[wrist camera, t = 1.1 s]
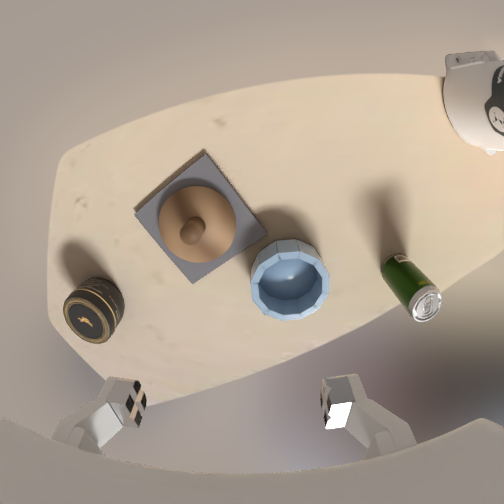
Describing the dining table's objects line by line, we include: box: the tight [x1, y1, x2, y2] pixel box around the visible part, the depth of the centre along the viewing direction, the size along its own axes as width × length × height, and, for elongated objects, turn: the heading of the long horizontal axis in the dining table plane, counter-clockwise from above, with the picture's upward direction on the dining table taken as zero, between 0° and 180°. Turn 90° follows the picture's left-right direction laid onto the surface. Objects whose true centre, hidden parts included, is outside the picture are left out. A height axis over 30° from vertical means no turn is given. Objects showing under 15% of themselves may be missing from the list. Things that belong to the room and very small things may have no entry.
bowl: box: [250, 239, 329, 321], centre depth 41 cm, size 11×11×5 cm
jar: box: [63, 278, 124, 344], centre depth 43 cm, size 10×10×8 cm
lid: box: [159, 185, 236, 263], centre depth 38 cm, size 11×11×5 cm
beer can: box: [382, 254, 442, 322], centre depth 37 cm, size 5×5×12 cm
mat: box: [134, 154, 267, 284], centre depth 40 cm, size 14×14×1 cm
